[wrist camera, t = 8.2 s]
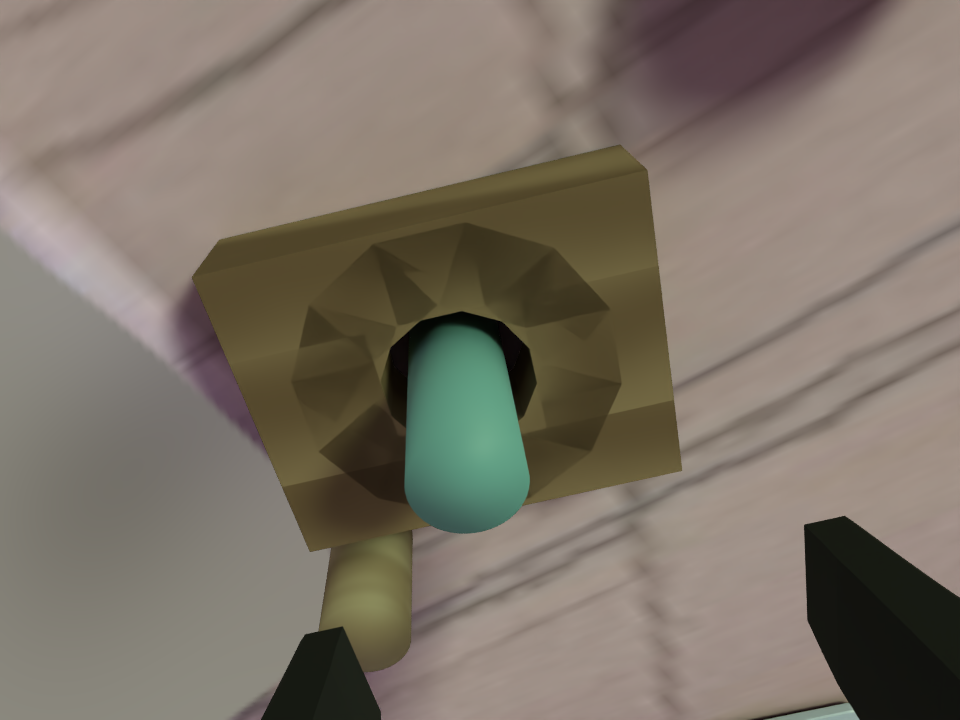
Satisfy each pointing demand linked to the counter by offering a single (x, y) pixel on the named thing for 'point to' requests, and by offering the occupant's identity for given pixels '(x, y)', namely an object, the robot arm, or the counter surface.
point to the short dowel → (371, 598)
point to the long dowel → (462, 426)
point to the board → (440, 291)
